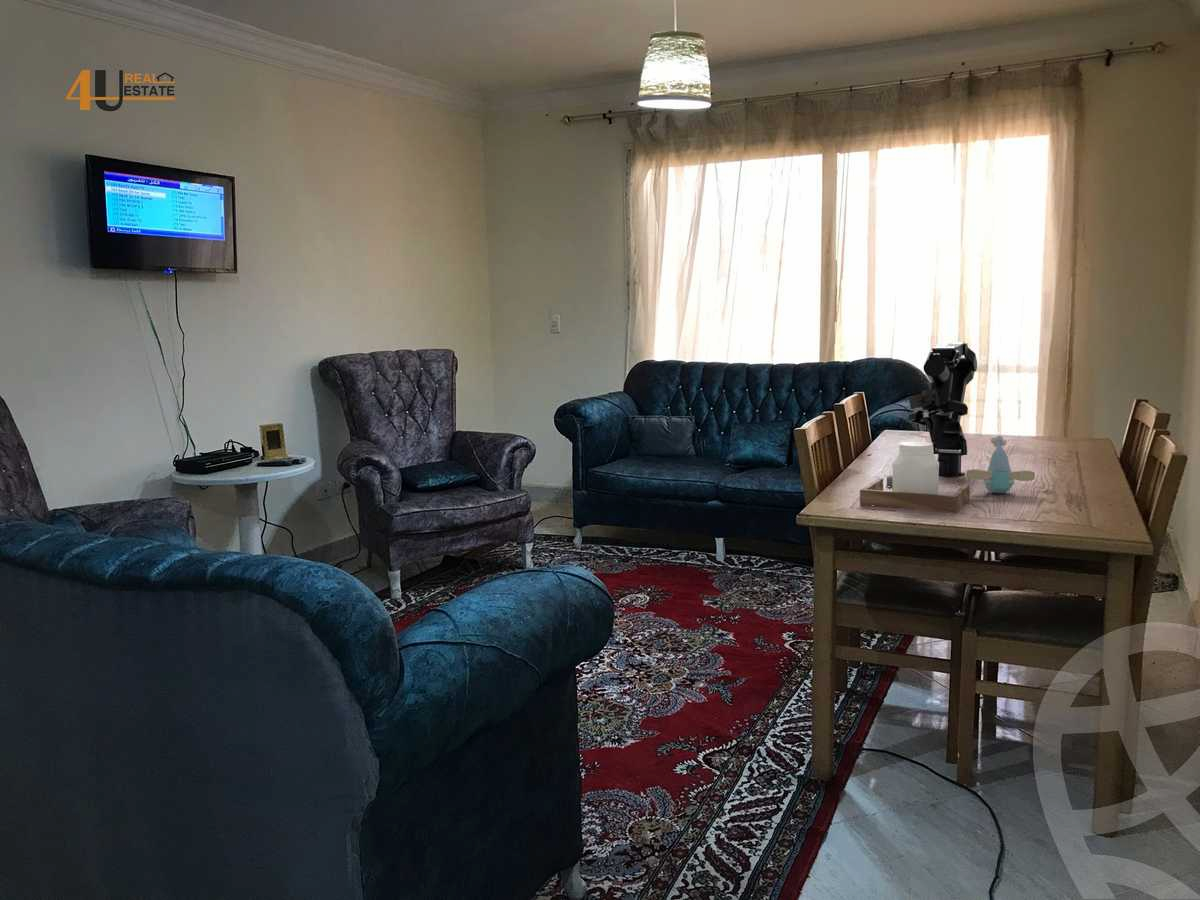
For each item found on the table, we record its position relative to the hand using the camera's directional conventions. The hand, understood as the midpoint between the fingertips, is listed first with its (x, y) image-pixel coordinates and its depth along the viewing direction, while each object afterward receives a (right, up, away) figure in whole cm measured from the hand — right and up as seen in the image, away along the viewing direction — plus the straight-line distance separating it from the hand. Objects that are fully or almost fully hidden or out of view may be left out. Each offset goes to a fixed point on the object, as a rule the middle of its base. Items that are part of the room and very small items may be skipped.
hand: (934, 442), depth 260 cm
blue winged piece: (+14, -14, -8) cm, 21 cm away
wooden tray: (-11, -15, -16) cm, 24 cm away
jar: (-10, -15, -14) cm, 23 cm away
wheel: (-8, -12, +6) cm, 16 cm away
